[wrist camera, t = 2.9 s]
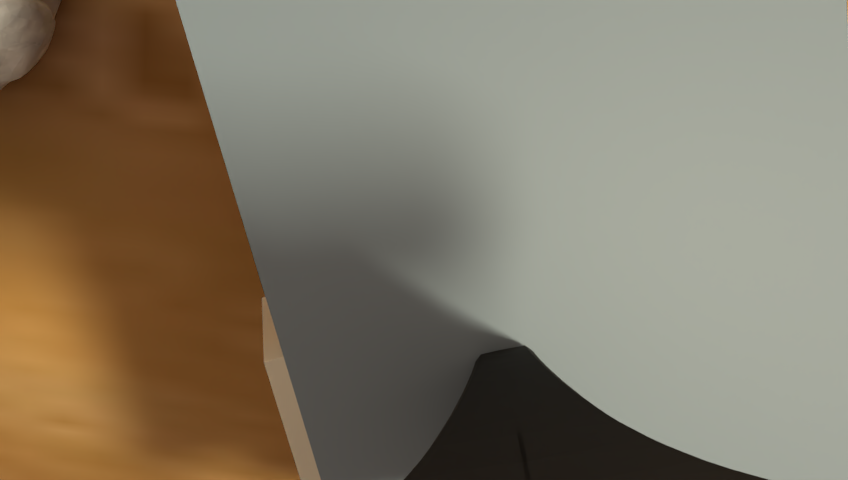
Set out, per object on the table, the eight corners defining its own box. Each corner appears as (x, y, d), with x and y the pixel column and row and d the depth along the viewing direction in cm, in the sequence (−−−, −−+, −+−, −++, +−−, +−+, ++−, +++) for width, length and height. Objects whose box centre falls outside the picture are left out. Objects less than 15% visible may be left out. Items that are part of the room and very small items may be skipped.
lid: (760, 505, 17) (871, 595, 14) (372, 660, 15) (402, 804, 12) (705, -86, 14) (841, -141, 10) (177, 20, 12) (148, -6, 8)
